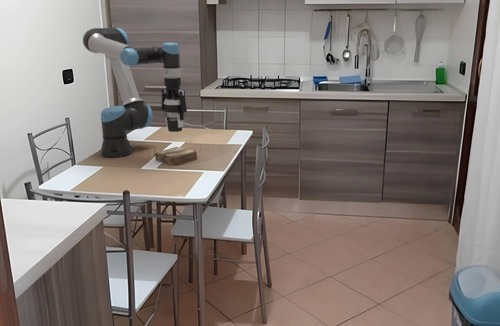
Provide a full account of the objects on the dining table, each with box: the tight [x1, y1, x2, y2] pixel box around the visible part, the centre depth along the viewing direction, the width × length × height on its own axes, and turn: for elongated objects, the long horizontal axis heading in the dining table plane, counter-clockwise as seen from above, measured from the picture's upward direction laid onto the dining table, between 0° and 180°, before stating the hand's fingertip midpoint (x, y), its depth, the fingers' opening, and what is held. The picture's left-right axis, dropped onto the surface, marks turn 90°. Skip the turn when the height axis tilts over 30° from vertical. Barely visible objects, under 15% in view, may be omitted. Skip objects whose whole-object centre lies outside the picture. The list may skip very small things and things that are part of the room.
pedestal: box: [154, 146, 198, 166], centre depth 236 cm, size 14×14×4 cm
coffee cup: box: [164, 98, 183, 133], centre depth 230 cm, size 10×10×15 cm
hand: (174, 125), depth 231 cm, fingers closed on coffee cup, 7 cm apart
